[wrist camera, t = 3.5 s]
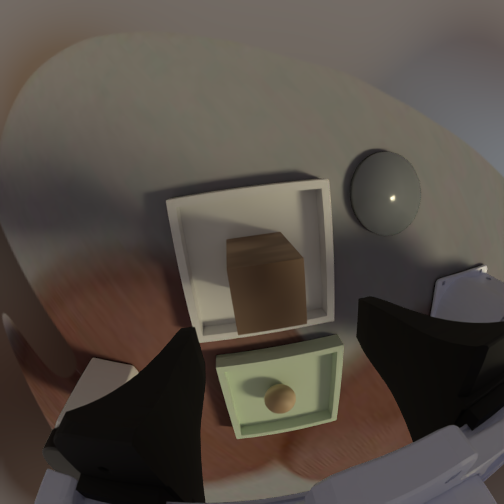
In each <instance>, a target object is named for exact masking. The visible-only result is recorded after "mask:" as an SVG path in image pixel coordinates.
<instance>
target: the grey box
mask: <svg viewBox="0 0 504 504" xmlns="http://www.w3.org/2000/svg"><path fill="white" fill-rule="evenodd" d="M166 205H167V211H168V217H169V222H170V228H171V233H172V238H173V244H174V249H175V254H176V258H177V263H178V268H179V272H180V277H181V281H182V286H183V290H184V294H185V299H186V303H187V307H188V311H189V315H190V319H191V323H192V326H193V327H195V329H196V332H197V336H198V340H199V343H201V342H210V341H218V340H226V339H234V338H241V337H248V336H254V335H261V334H267V333H273V332H279V331H285V330H290V329H295V328H301V327H306V326H311V325H316V324H321V323H325V322H330V321H334V250H333V228H332V212H331V198H330V186H329V179H322V178H319V179H308V180H297V181H287V182H278V183H269V184H261V185H253V186H245V187H238V188H230V189H223V190H217V191H210V192H204V193H198V194H191V195H186V196H180V197H174V198H170V199H168V200H166ZM275 232H281V233H282V234H283V235H284V236H285V238H286V239H287V240H288V241H289V242H290V243H291V244H292V245H293V247H294V248H295V249H296V250H297V251H298V252H299V253H300V254H301V256H302V257H303V258H304V269H305V286H306V306H307V324H303V325H298V326H292V327H287V328H281V329H275V330H269V331H263V332H257V333H250V334H244V335H238V332H237V327H236V321H235V316H234V310H233V304H232V299H231V293H230V287H229V281H228V275H227V260H226V239H232V238H239V237H246V236H253V235H260V234H268V233H275Z"/></svg>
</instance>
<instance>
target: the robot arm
mask: <svg viewBox="0 0 504 504" xmlns="http://www.w3.org/2000/svg"><path fill="white" fill-rule="evenodd" d="M486 272H487V266H486V265H481V266H478V267H475V268H472V269H469V270H466V271H463V272H460V273H456V274H453V275H450V276H446V277H443V278H440V279H438V280H437V281H436V284H435V291H434V297H433V303H432V309H431V315H430V316H428V315H424V314H421V313H418V312H415V311H412V310H409V309H406V308H403V307H400V306H398V305H395V304H392V303H390V302H387V301H384V300H381V299H379V298H375V297H371V296H370V297H365V298H361V299H359V305H358V322H357V336H356V337H357V339H358V341H359V343H360V345H361V347H362V349H363V351H364V353H365V354H366V356H367V357H368V359H369V360H370V362H371V363H372V364H373V366H374V367H375V369H376V370H377V372H378V373H379V374H380V376H381V377H382V379H383V380H384V381H385V383H386V384H387V386H388V387H389V389H390V391H391V392H392V394H393V396H394V398H395V400H396V402H397V404H398V406H399V408H400V410H401V413H402V415H403V417H404V419H405V422H406V424H407V427H408V429H409V432H410V435H411V437H412V440H413V443H411V444H409V445H407V446H405V447H402V448H400V449H398V450H396V451H393V452H391V453H388V454H386V455H384V456H381V457H379V458H376V459H373V460H371V461H368V462H365V463H362V464H359V465H356V466H353V467H351V468H348V469H346V470H343V471H341V472H338V473H336V474H333V475H331V476H329V477H327V478H325V479H324V480H322V481H320V482H318V483H317V484H315V485H314V486H313V487H312V488H311V490H310V491H306V492H302V493H297V494H292V495H286V496H280V497H274V498H267V499H259V500H250V501H239V502H223V503H205V496H204V488H203V477H202V464H201V441H200V429H201V417H202V409H203V400H204V392H205V362H204V358H203V355H202V351H201V347H200V344H199V340H198V336H197V332H196V329H195V327H188V328H181V329H180V330H179V331H178V332H177V333H176V335H175V336H174V337H173V338H172V339H171V341H170V342H169V343H168V344H167V345H166V346H165V347H164V349H163V350H162V351H161V352H160V353H159V354H158V355H157V356H156V357H155V358H154V359H153V360H152V361H151V362H150V363H149V364H148V365H147V366H146V367H145V368H144V369H143V370H142V371H140V372H139V373H138V374H137V375H136V376H134V377H133V378H132V379H130V380H129V381H128V382H126V383H125V384H123V385H122V386H120V387H119V388H117V389H116V390H114V391H112V392H111V393H109V394H107V395H105V396H103V397H102V398H100V399H97V400H95V401H93V402H91V403H89V404H86V405H84V406H81V407H78V408H76V409H73V410H70V411H67V412H66V413H65V415H64V417H63V419H62V421H61V423H60V425H59V427H58V429H57V431H56V433H55V435H54V443H55V446H56V448H57V449H58V451H59V452H60V453H61V454H62V455H63V457H64V458H65V459H66V460H67V461H68V462H69V463H70V464H71V465H72V466H73V467H74V468H75V469H76V470H78V471H79V472H80V473H81V474H80V477H79V480H77V479H76V478H74V477H72V476H69V475H66V474H63V473H60V472H57V471H54V470H51V469H47V471H46V473H45V476H44V478H43V481H42V483H41V486H40V489H39V492H38V494H37V498H36V500H35V503H34V504H497V503H496V501H495V499H494V498H493V496H492V495H491V493H490V492H489V490H488V489H487V487H486V486H485V484H484V481H485V480H486V479H487V478H488V477H490V476H491V475H492V474H493V473H494V472H495V471H497V470H498V469H499V468H500V467H501V466H502V465H503V464H504V282H502V281H500V280H498V279H496V278H494V277H492V276H491V275H489V274H487V273H486Z"/></svg>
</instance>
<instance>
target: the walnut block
mask: <svg viewBox="0 0 504 504" xmlns="http://www.w3.org/2000/svg"><path fill="white" fill-rule="evenodd" d="M226 260H227V275H228V281H229V287H230V293H231V299H232V304H233V310H234V316H235V321H236V327H237V332H238V335H244V334H250V333H257V332H263V331H269V330H275V329H281V328H287V327H292V326H298V325H303V324H307V306H306V286H305V269H304V258H303V257H302V256H301V254H300V253H299V252H298V251H297V250H296V249H295V248H294V247H293V245H292V244H291V243H290V242H289V241H288V240H287V239H286V238H285V236H284V235H283V234H282V233H281V232H275V233H268V234H260V235H253V236H246V237H239V238H232V239H226Z"/></svg>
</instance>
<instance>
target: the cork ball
mask: <svg viewBox="0 0 504 504" xmlns="http://www.w3.org/2000/svg"><path fill="white" fill-rule="evenodd" d="M264 402H265V405H266V407H267V408H268V409H269V410H270V411H271V412H273V413H277V414H282V413H286V412H288V411H290V410H291V409H292V408H293V406H294V405H295V402H296V395H295V392H294V391H293V389H292V388H290V387H289V386H287V385H284V384H277V385H274V386H272V387H270V388H269V389H268V390H267V392H266V393H265V396H264Z"/></svg>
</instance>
